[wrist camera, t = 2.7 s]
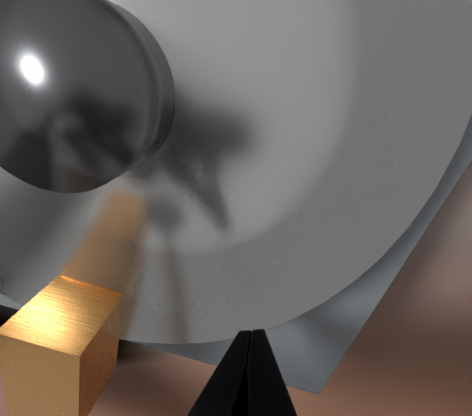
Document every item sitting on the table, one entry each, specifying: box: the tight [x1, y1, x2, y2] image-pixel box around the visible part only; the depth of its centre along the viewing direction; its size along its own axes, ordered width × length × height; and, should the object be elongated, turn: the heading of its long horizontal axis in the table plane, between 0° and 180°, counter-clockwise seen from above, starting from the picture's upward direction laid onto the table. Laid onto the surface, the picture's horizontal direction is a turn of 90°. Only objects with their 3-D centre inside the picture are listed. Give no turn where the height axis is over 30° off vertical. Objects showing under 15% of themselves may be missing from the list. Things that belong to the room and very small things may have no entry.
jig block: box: [0, 114, 472, 394], centre depth 10 cm, size 23×23×4 cm
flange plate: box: [0, 0, 472, 416], centre depth 7 cm, size 20×18×4 cm
